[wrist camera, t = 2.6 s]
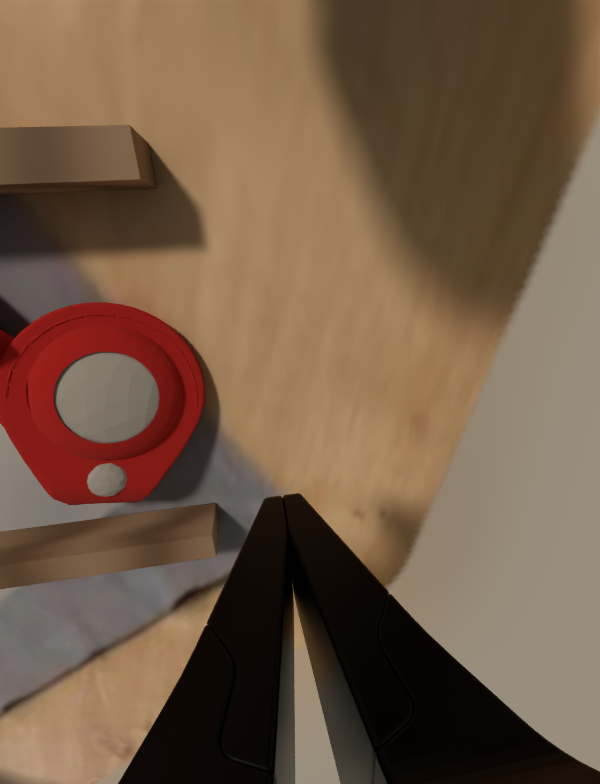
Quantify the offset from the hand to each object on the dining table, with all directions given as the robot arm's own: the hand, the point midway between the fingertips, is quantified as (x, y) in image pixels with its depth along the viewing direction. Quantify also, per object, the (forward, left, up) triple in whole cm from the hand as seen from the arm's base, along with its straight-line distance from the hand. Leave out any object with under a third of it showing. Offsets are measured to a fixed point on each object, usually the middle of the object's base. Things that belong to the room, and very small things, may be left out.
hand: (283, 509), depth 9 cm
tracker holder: (+8, -1, -11) cm, 14 cm away
